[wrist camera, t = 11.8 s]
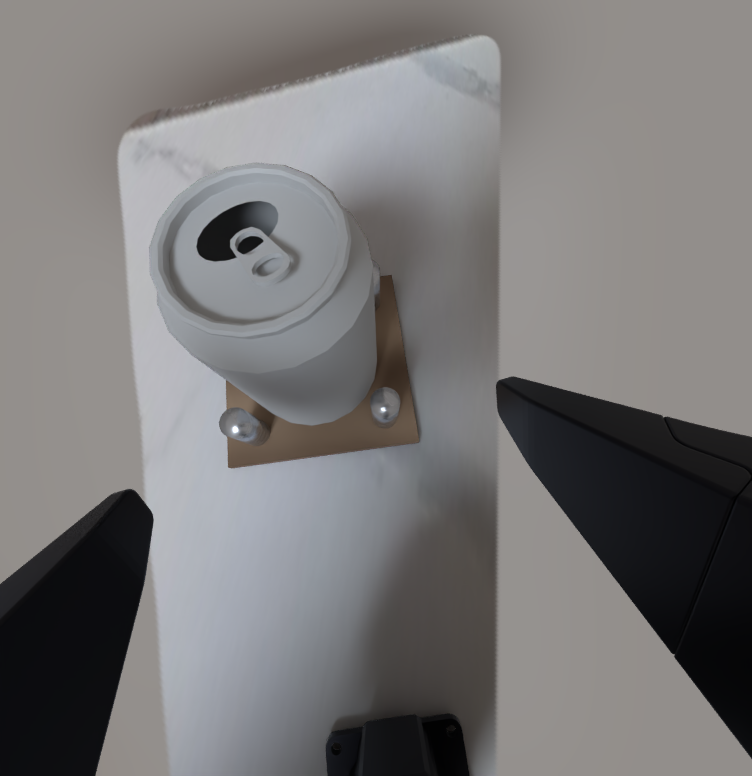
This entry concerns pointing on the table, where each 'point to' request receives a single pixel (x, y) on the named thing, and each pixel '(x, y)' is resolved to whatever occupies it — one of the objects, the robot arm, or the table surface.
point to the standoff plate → (347, 434)
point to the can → (270, 289)
